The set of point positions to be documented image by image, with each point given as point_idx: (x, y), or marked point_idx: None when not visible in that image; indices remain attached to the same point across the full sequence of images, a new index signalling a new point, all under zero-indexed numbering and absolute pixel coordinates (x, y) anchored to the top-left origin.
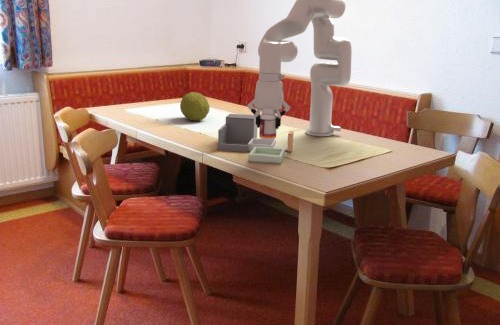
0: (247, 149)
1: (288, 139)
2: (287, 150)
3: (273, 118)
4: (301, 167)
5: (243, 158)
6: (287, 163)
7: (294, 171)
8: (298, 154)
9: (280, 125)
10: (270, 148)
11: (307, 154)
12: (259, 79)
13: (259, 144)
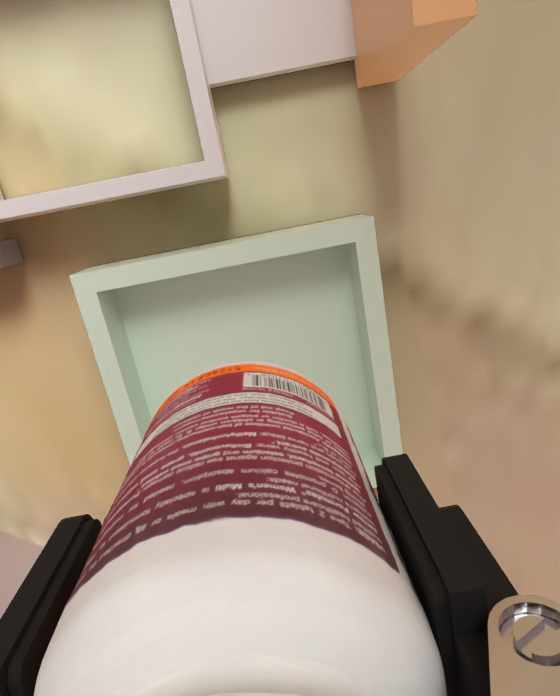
0: (7, 266)
1: (398, 52)
2: (360, 85)
3: None
4: (542, 460)
5: (87, 442)
6: (433, 418)
7: (508, 549)
8: (472, 126)
9: (454, 506)
10: (236, 264)
11: (554, 86)
12: None
13: (80, 191)
